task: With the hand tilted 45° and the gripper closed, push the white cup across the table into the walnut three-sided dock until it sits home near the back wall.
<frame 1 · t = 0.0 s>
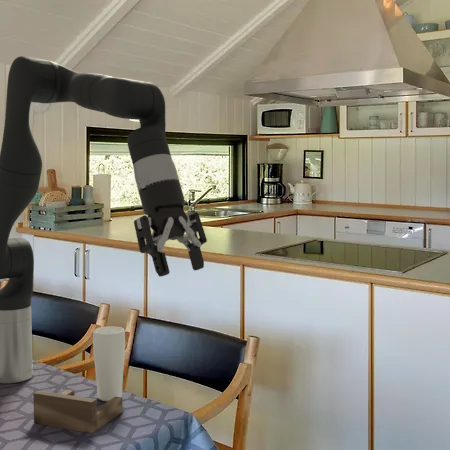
hand: (182, 272, 106), 31 cm above the table, tool tilted 20°, fingers open, 8 cm apart
white cup: (109, 398, 132), on the table
walnut dock: (80, 416, 122), on the table
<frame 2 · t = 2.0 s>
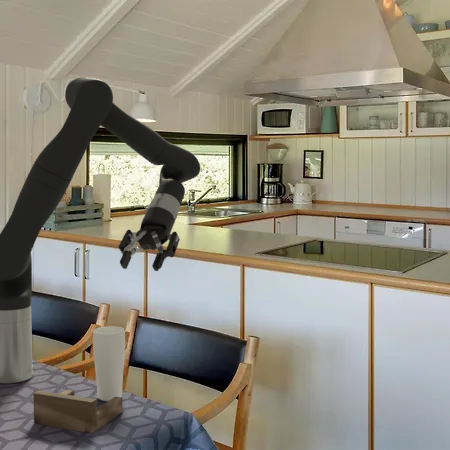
hand: (138, 267, 142), 27 cm above the table, tool tilted 45°, fingers open, 8 cm apart
nothing on the table moved.
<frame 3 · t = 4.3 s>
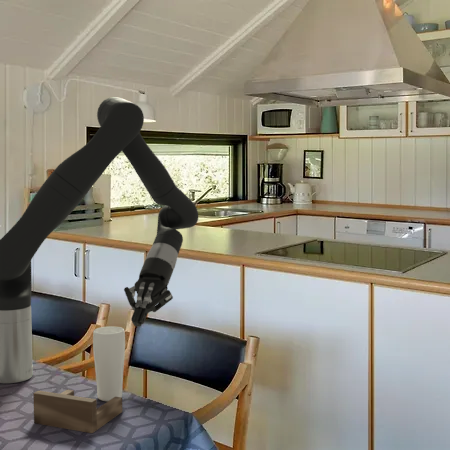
hand: (136, 324, 142), 13 cm above the table, tool tilted 45°, fingers closed
nothing on the table moved.
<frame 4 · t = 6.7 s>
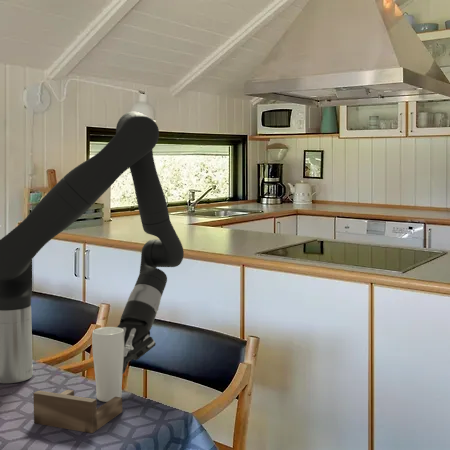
hand: (116, 374, 135), 4 cm above the table, tool tilted 45°, fingers closed
white cup: (109, 399, 132), on the table, touching gripper
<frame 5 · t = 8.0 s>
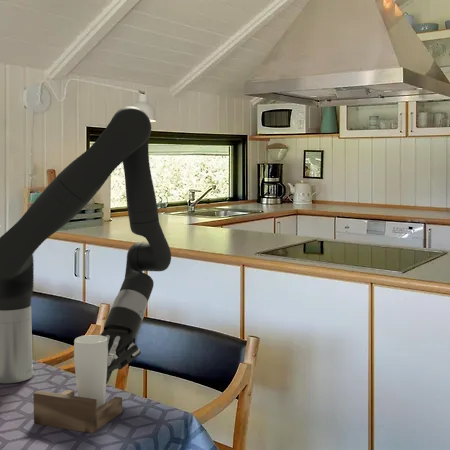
hand: (99, 384, 128), 4 cm above the table, tool tilted 45°, fingers closed
white cup: (91, 411, 125), on the table, touching gripper
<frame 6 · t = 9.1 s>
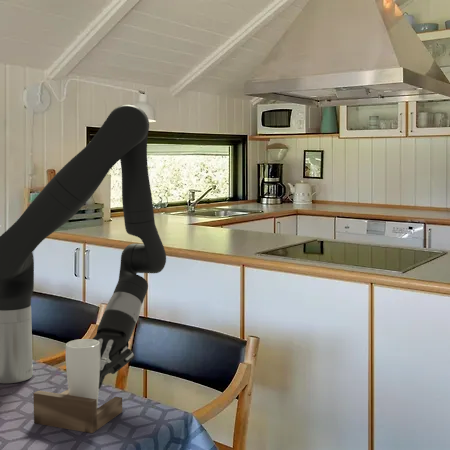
hand: (91, 389, 125), 4 cm above the table, tool tilted 45°, fingers closed
white cup: (84, 417, 122), on the table, touching gripper
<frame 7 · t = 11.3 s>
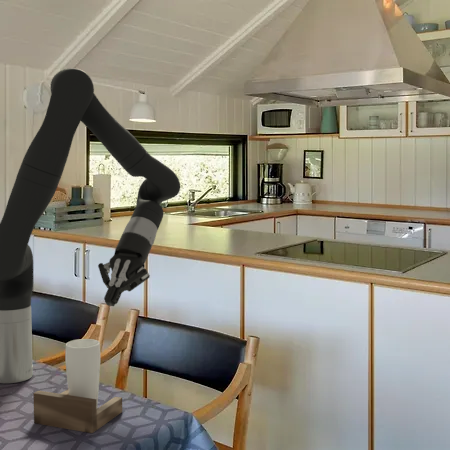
hand: (109, 304, 134), 20 cm above the table, tool tilted 40°, fingers closed
white cup: (84, 417, 122), on the table
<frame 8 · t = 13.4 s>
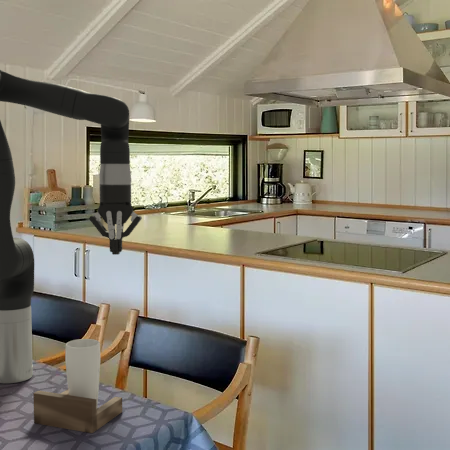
hand: (116, 254, 149), 29 cm above the table, tool pointing down, fingers closed
nothing on the table moved.
at the end: white cup 0.8 cm off-centre on the walnut dock, point 0.0 cm above the walnut dock's base; white cup tilted 0° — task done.
